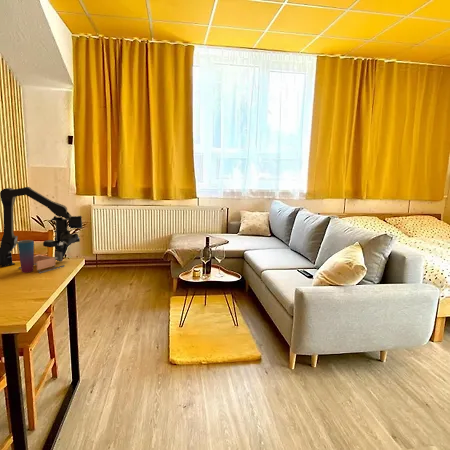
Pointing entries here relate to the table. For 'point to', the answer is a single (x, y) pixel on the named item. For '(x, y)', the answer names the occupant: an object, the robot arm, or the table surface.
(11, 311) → the table surface
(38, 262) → the caddy
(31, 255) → the cup
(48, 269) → the rails
